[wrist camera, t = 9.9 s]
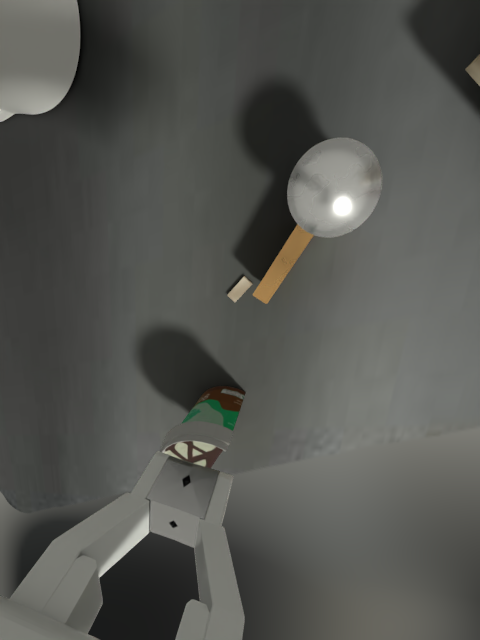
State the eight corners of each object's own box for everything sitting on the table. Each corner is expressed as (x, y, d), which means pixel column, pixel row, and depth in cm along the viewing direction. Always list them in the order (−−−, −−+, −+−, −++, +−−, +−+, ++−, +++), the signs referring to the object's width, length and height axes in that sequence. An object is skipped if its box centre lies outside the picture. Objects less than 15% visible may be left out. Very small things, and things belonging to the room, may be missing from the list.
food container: (209, 361, 35) (172, 416, 26) (250, 384, 34) (228, 447, 26) (179, 419, 40) (141, 481, 31) (215, 440, 40) (187, 507, 31)
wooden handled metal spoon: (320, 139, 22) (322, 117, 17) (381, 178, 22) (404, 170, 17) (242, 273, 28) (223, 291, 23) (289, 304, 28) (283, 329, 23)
